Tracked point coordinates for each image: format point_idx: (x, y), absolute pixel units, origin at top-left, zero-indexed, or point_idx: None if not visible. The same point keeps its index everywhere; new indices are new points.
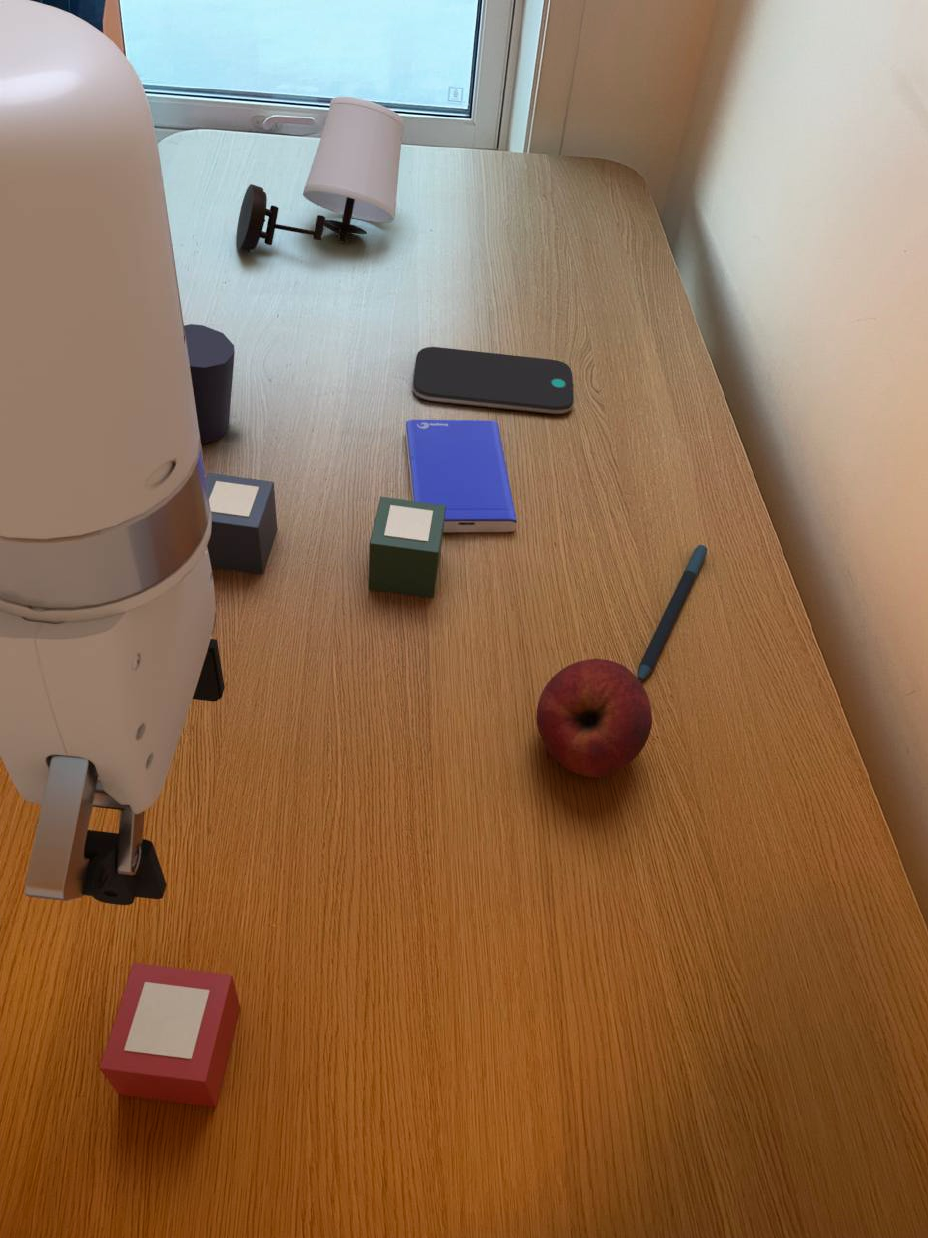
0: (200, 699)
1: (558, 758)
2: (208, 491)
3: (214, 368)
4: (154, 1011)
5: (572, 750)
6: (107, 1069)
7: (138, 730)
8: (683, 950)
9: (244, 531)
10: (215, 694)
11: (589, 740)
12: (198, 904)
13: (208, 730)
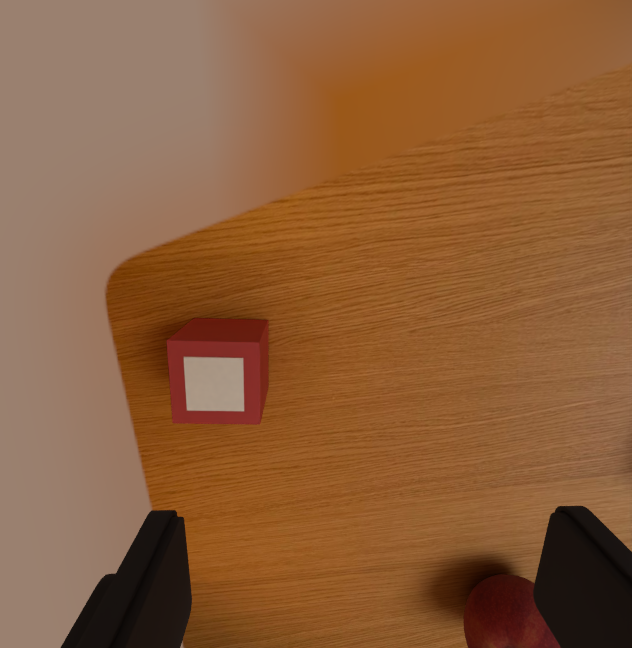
0: (538, 576)
1: (479, 604)
2: None
3: None
4: (219, 372)
5: (483, 637)
6: (167, 347)
7: None
8: (339, 640)
9: None
10: (547, 621)
11: None
12: (345, 338)
13: (515, 307)
